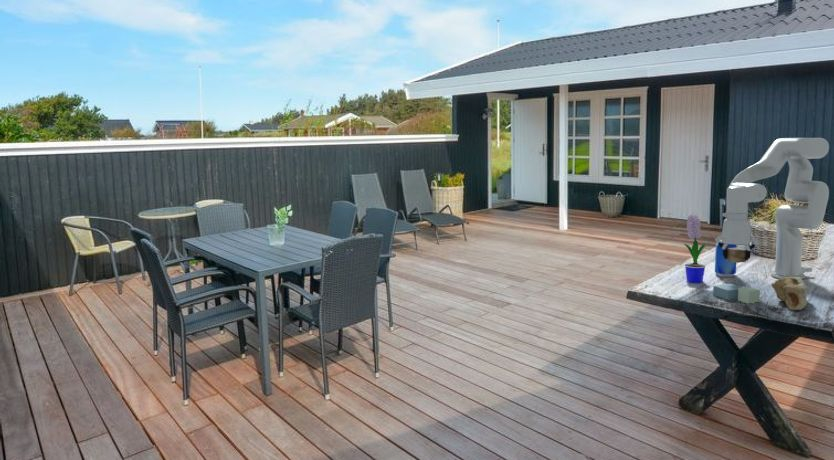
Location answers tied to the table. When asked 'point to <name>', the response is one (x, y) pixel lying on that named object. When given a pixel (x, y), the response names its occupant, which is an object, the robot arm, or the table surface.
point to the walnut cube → (736, 255)
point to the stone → (791, 292)
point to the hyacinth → (694, 251)
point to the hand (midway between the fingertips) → (736, 258)
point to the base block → (726, 291)
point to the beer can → (724, 262)
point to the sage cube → (748, 295)
